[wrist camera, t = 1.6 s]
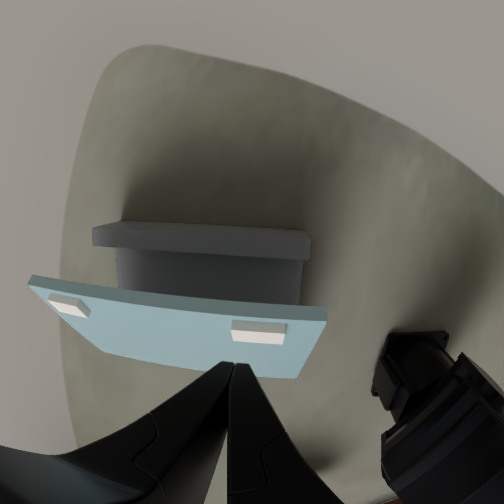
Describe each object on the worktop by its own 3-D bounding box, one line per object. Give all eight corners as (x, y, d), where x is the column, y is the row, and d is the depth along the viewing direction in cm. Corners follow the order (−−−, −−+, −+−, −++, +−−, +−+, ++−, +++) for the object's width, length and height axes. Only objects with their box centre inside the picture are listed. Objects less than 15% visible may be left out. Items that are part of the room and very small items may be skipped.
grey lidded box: (304, 229, 20) (311, 239, 16) (293, 344, 22) (295, 373, 18) (120, 221, 21) (91, 227, 17) (128, 325, 23) (105, 347, 19)
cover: (326, 306, 10) (327, 331, 10) (296, 370, 18) (295, 384, 17) (31, 274, 11) (24, 291, 11) (104, 344, 19) (101, 356, 18)
